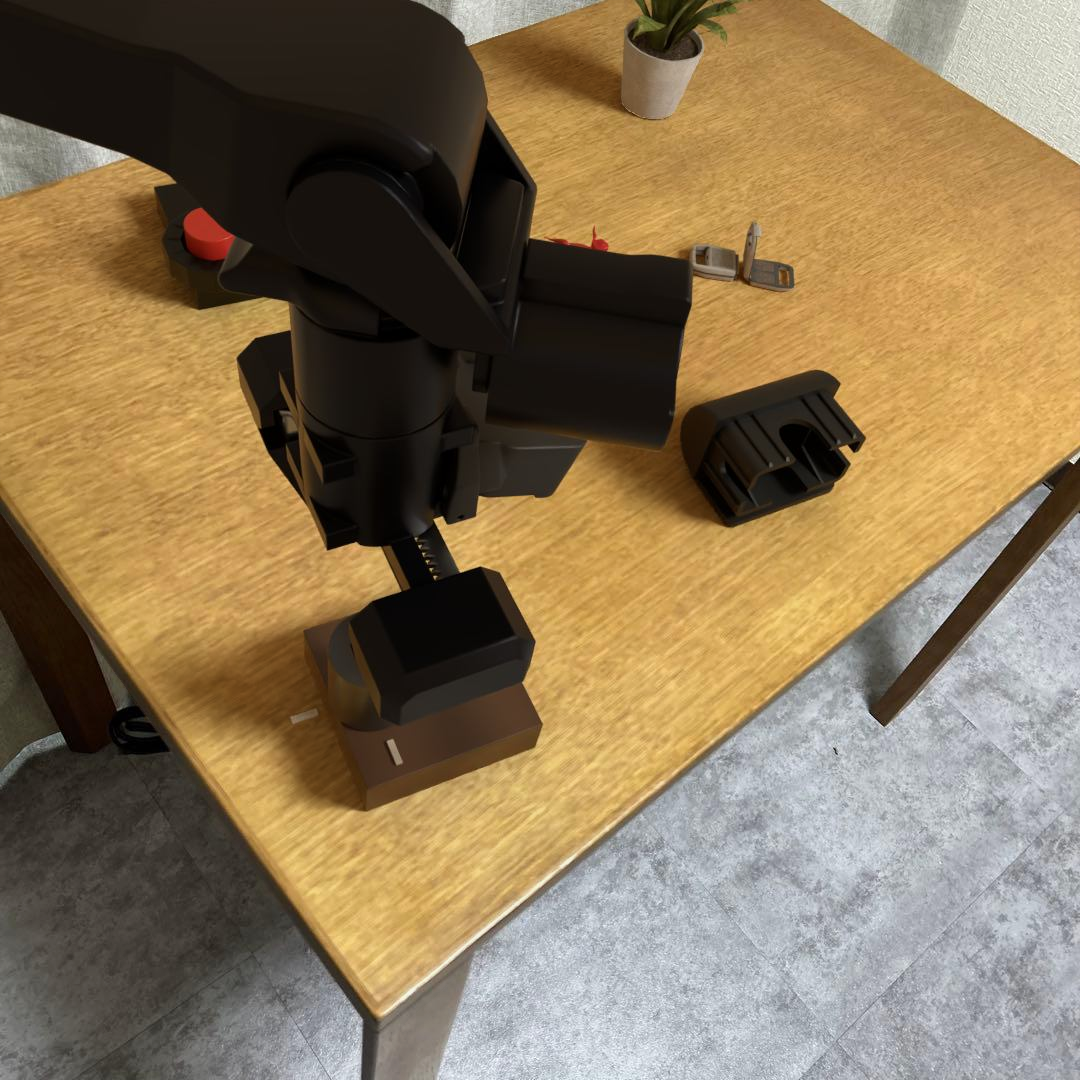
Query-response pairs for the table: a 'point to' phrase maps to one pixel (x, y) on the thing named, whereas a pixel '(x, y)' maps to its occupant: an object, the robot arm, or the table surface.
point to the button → (206, 236)
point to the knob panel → (424, 736)
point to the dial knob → (349, 684)
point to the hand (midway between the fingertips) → (374, 609)
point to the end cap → (769, 446)
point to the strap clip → (755, 270)
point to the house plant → (665, 52)
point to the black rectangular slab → (179, 259)
